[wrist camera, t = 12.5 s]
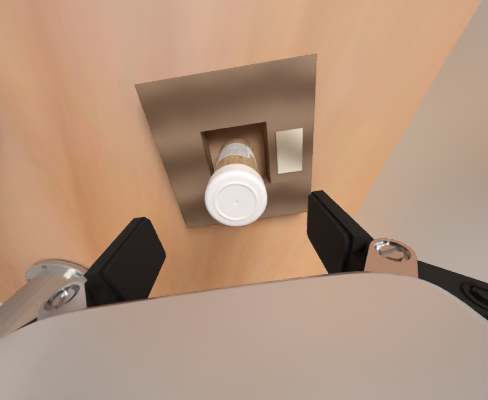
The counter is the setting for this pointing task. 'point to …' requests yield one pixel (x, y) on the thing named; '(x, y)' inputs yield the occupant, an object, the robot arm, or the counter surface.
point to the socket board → (230, 115)
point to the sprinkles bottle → (236, 186)
